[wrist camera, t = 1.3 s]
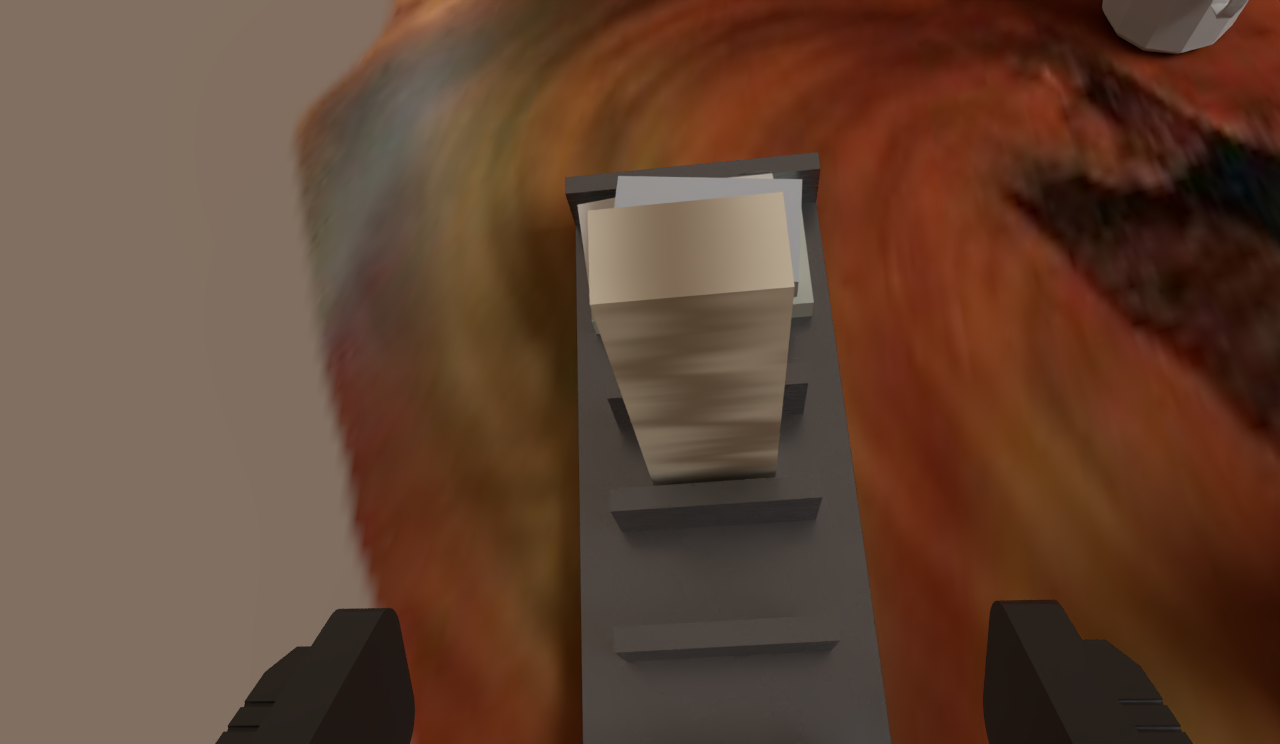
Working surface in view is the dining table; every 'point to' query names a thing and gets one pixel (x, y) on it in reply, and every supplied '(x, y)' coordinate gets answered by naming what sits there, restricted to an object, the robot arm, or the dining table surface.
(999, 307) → the dining table surface
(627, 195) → the offcut stack
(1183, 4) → the water bottle
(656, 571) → the rack
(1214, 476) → the dining table surface
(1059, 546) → the dining table surface
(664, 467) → the beige tall block
